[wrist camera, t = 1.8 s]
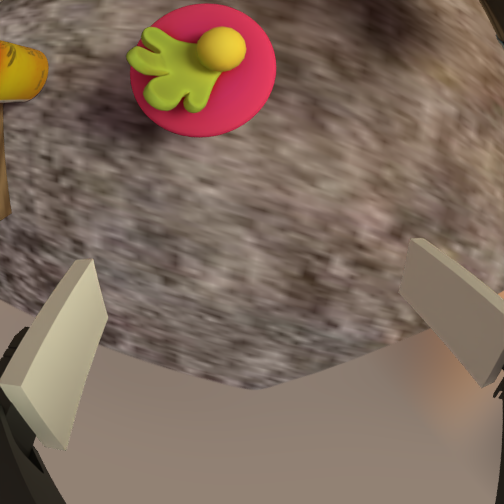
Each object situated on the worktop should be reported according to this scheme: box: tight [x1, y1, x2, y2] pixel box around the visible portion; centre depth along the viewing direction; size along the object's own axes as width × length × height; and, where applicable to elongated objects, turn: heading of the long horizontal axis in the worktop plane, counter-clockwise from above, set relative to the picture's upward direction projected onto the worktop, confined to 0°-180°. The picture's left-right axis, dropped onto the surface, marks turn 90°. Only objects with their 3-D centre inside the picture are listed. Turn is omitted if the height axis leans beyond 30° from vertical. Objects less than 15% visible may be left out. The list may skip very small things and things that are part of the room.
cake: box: [126, 4, 276, 137], centre depth 22 cm, size 10×11×15 cm
